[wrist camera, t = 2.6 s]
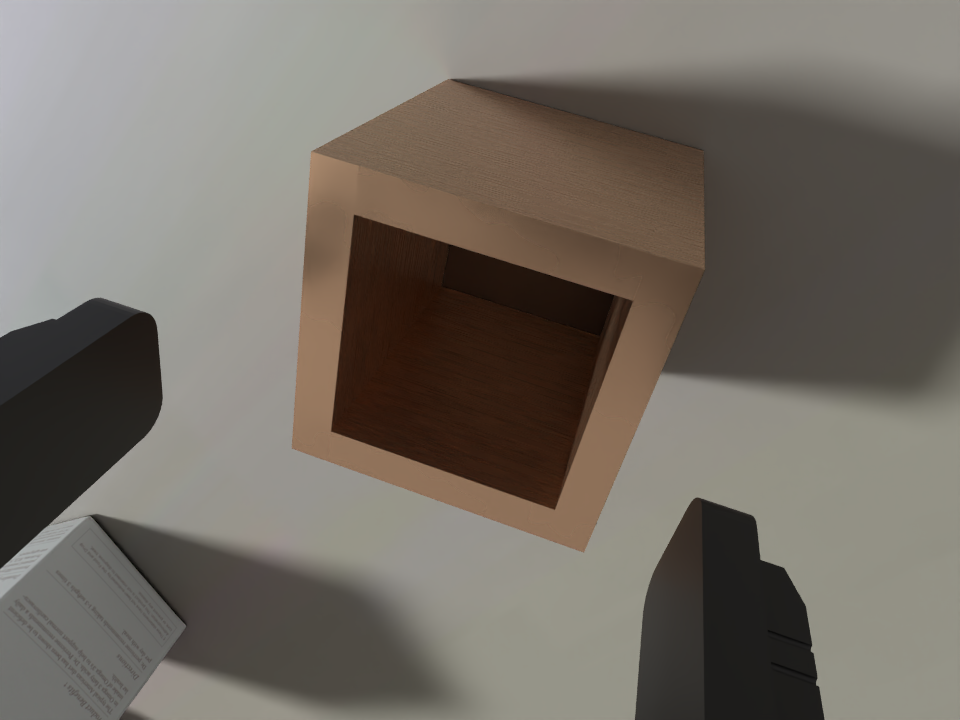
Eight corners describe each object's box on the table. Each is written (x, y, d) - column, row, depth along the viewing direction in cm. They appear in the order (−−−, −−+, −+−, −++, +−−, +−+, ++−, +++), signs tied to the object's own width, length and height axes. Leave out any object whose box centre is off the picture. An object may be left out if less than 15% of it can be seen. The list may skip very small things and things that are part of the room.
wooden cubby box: (703, 150, 16) (704, 270, 10) (619, 369, 19) (583, 552, 13) (448, 79, 16) (311, 151, 11) (411, 301, 20) (291, 448, 14)
